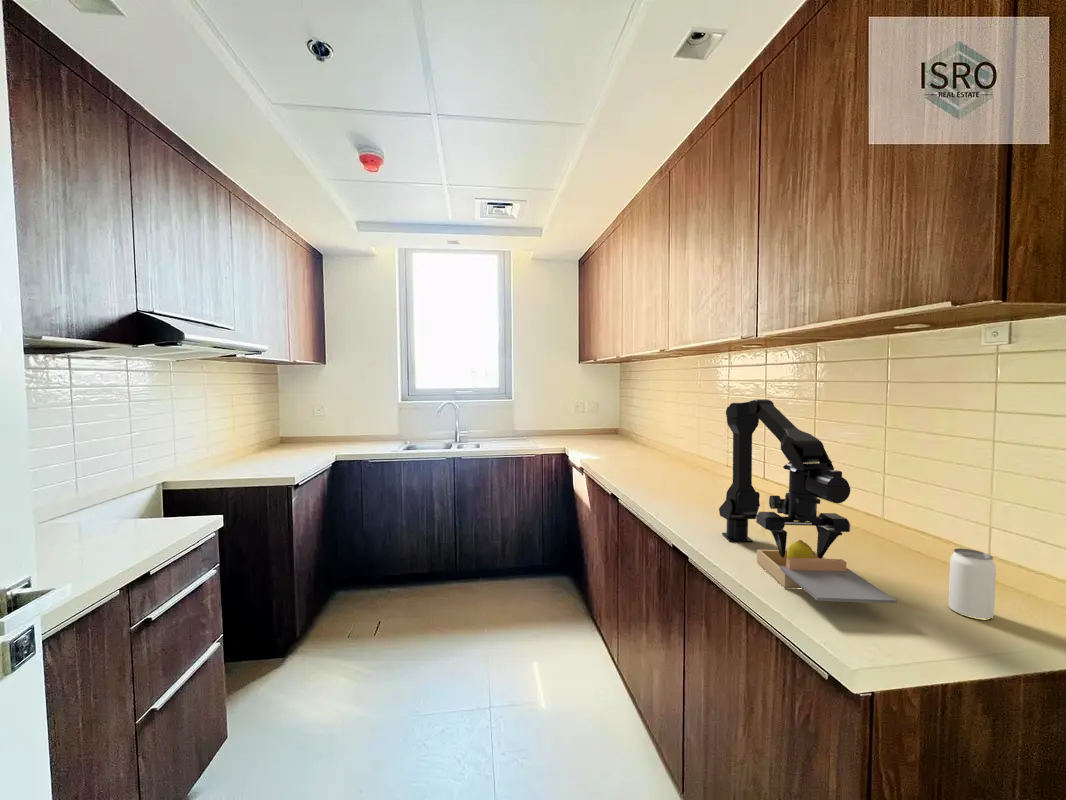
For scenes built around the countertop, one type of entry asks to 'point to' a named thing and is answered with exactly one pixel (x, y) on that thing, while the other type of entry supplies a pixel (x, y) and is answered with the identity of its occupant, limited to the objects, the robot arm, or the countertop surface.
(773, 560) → the box
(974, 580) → the can
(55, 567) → the countertop surface
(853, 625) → the countertop surface
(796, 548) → the lemon
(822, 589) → the lid
